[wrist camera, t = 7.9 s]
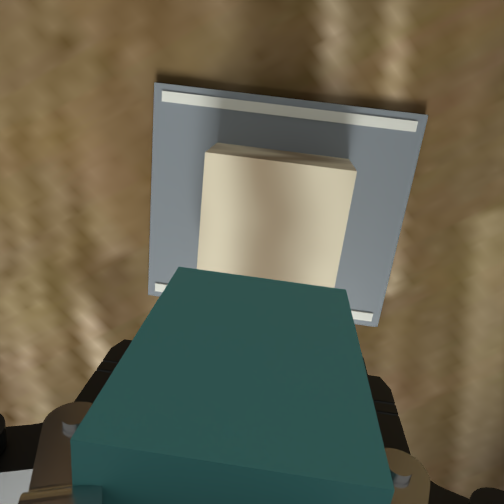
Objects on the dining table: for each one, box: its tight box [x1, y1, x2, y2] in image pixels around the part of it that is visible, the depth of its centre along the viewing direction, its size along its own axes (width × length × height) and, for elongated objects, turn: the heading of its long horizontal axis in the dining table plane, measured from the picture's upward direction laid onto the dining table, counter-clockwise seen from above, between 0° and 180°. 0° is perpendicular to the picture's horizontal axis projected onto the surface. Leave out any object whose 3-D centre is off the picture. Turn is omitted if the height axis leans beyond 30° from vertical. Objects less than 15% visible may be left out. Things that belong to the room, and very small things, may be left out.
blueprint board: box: [148, 82, 428, 327], centre depth 29 cm, size 16×14×1 cm
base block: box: [197, 143, 357, 288], centre depth 27 cm, size 8×8×4 cm
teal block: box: [70, 267, 395, 504], centre depth 11 cm, size 5×5×7 cm
